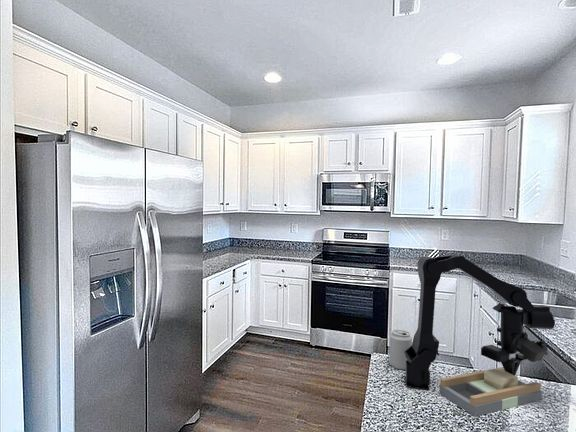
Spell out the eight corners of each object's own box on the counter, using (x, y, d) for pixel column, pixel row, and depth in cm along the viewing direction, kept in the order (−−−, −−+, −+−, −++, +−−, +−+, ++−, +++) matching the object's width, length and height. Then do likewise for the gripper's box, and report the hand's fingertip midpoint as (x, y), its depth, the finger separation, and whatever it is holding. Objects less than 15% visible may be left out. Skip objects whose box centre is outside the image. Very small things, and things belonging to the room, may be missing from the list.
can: (413, 372, 111) (414, 336, 111) (390, 369, 112) (390, 334, 112) (409, 362, 118) (410, 329, 118) (388, 360, 120) (388, 327, 120)
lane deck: (474, 416, 86) (475, 399, 86) (439, 393, 97) (439, 378, 97) (541, 399, 95) (541, 384, 95) (502, 380, 106) (502, 366, 106)
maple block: (502, 392, 94) (502, 379, 94) (483, 382, 100) (484, 370, 100) (517, 389, 96) (517, 377, 96) (498, 379, 101) (498, 368, 101)
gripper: (516, 339, 88) (516, 397, 88) (561, 332, 95) (561, 386, 95) (479, 326, 99) (479, 378, 99) (522, 321, 105) (522, 369, 105)
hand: (511, 378), depth 99 cm, fingers closed
